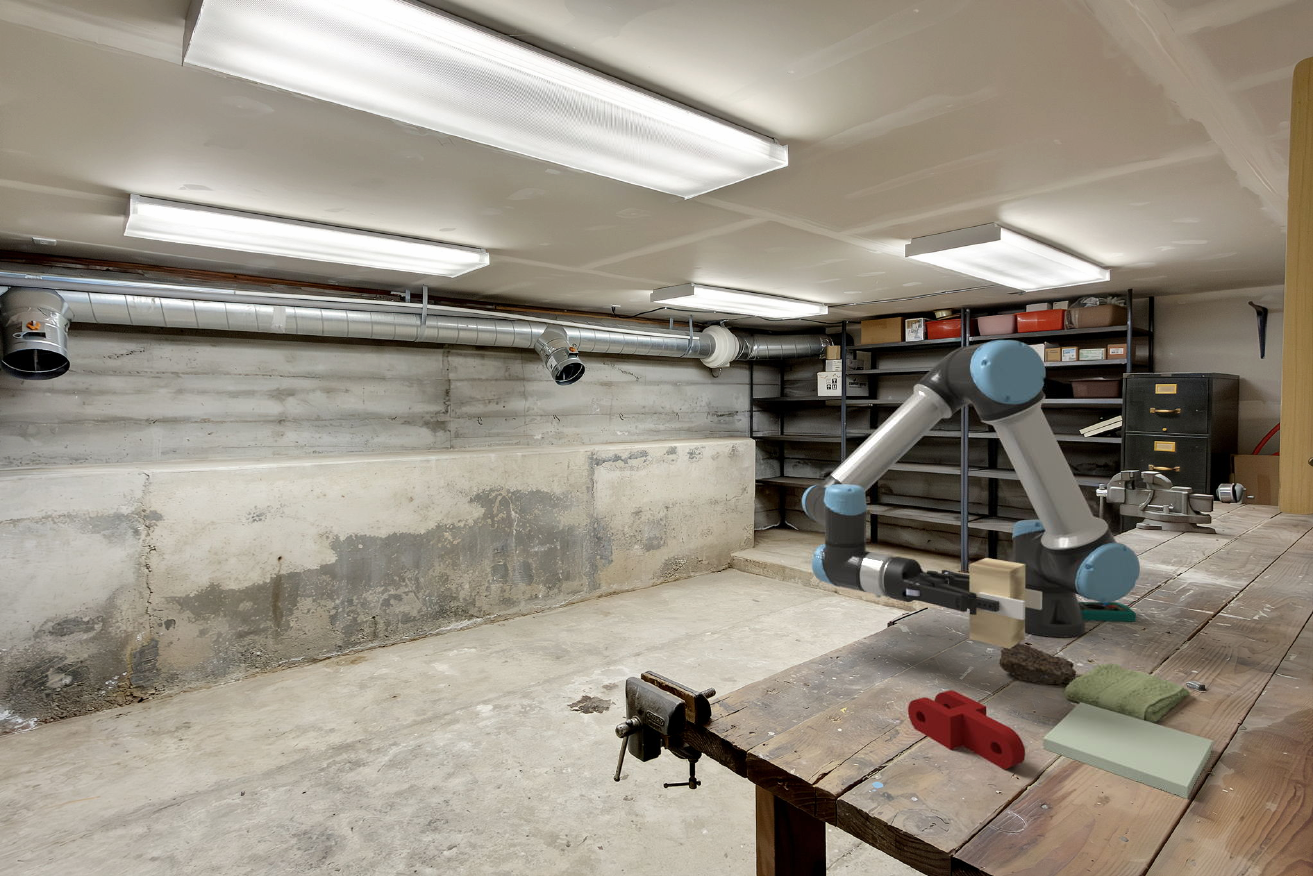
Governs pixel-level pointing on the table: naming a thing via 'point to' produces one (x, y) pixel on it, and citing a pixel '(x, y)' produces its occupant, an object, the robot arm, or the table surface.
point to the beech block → (1000, 582)
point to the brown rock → (1036, 665)
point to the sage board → (1131, 748)
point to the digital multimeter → (1106, 611)
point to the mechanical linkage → (966, 728)
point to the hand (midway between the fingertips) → (1032, 605)
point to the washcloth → (1126, 692)
